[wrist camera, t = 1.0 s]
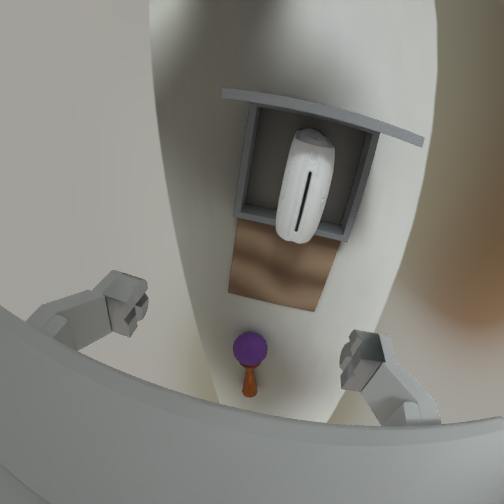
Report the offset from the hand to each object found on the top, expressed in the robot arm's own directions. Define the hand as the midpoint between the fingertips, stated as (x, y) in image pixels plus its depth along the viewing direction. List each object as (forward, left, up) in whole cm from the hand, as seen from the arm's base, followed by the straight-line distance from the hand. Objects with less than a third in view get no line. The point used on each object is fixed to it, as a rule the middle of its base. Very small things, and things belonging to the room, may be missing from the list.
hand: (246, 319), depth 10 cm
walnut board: (+15, +2, -27) cm, 31 cm away
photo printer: (0, +2, -27) cm, 27 cm away
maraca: (+39, +1, -28) cm, 48 cm away
